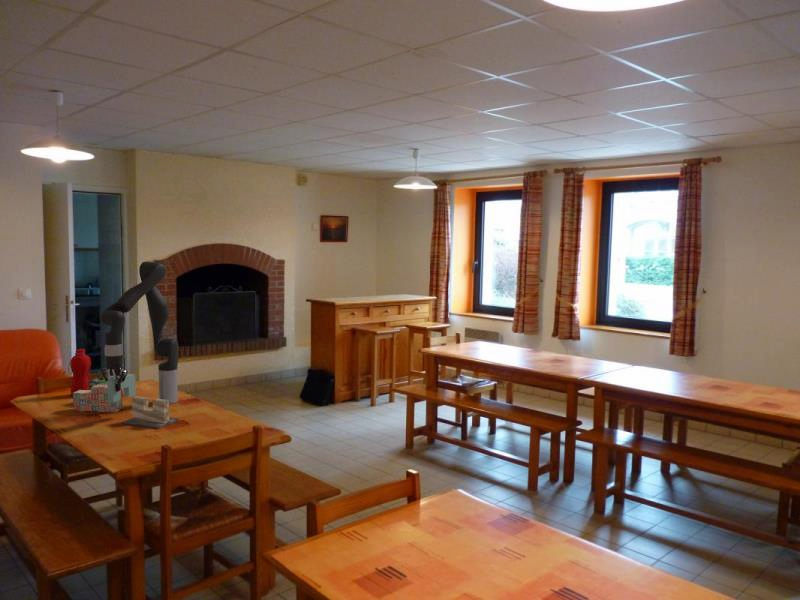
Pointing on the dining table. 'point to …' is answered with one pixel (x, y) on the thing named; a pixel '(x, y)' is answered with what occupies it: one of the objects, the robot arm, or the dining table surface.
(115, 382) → the robot arm
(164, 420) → the stand
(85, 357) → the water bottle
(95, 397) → the stack of blocks
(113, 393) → the sage crossbar
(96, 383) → the chalk box
